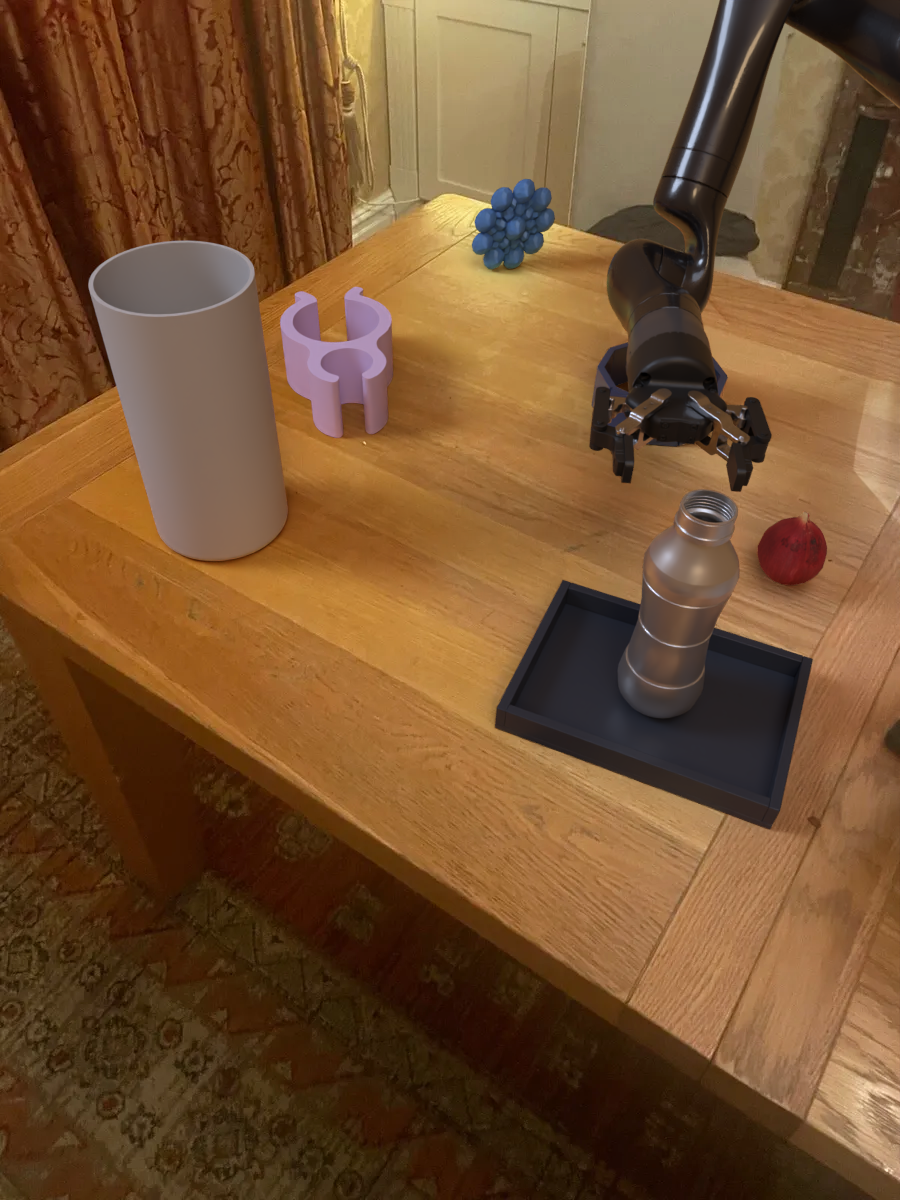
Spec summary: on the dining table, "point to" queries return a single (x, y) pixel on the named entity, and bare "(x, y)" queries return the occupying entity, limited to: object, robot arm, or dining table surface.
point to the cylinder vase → (195, 393)
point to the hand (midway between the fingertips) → (683, 478)
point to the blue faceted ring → (614, 374)
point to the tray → (654, 745)
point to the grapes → (513, 224)
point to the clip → (340, 360)
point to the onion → (792, 550)
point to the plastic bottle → (680, 605)
